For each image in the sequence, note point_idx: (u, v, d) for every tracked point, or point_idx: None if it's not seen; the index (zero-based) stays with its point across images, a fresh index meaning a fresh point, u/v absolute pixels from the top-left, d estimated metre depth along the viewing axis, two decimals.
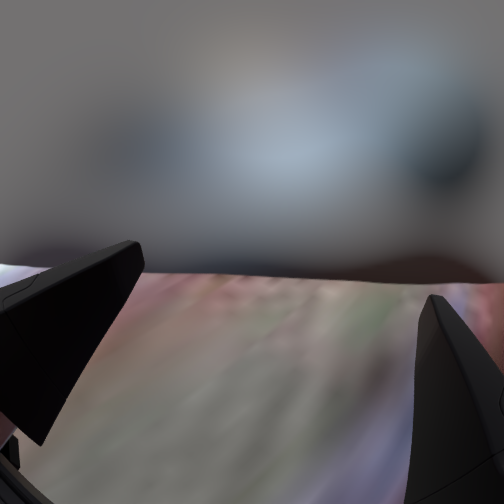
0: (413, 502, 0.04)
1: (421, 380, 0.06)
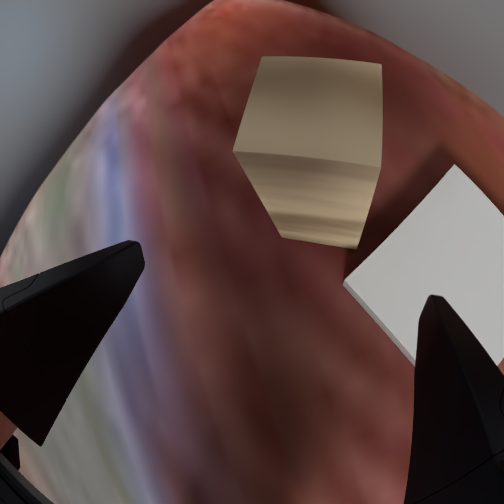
0: (413, 502, 0.04)
1: (421, 380, 0.06)
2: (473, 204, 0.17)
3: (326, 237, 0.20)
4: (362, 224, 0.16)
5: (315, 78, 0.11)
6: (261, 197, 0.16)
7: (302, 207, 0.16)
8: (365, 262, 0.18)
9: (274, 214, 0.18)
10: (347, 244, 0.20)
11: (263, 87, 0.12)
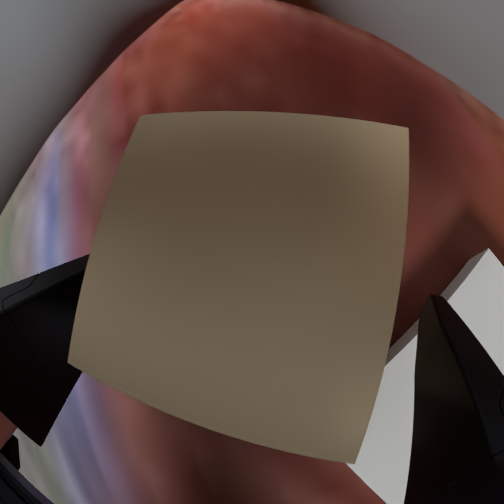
0: (413, 502, 0.04)
1: (421, 380, 0.06)
2: None
3: None
4: None
5: (234, 178, 0.05)
6: None
7: None
8: None
9: None
10: None
11: (124, 203, 0.06)
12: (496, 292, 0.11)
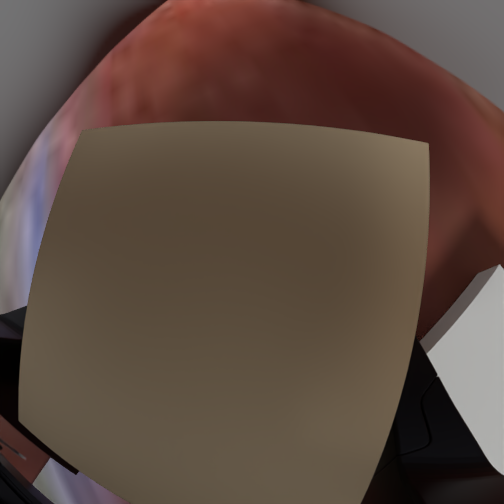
0: None
1: None
2: None
3: None
4: None
5: (179, 221, 0.04)
6: None
7: None
8: None
9: None
10: None
11: (58, 246, 0.04)
12: None
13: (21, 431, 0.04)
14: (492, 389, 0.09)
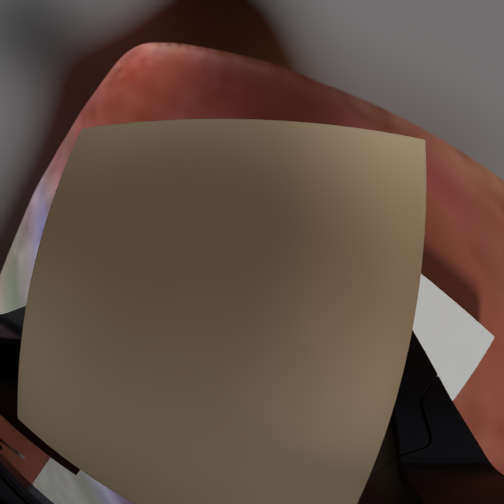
0: None
1: None
2: None
3: None
4: None
5: (177, 217, 0.04)
6: None
7: None
8: None
9: None
10: None
11: (56, 243, 0.04)
12: None
13: (21, 431, 0.04)
14: None
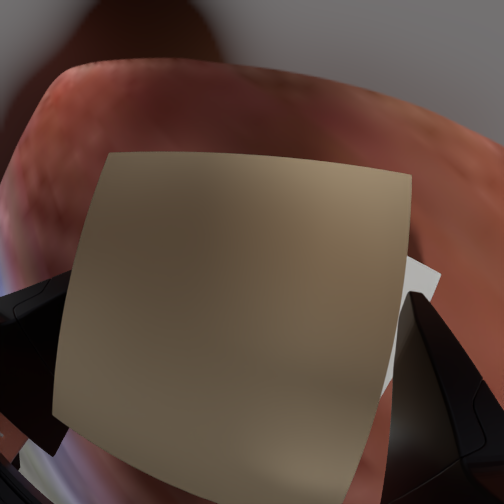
0: (388, 501, 0.04)
1: (398, 377, 0.06)
2: None
3: None
4: None
5: (206, 240, 0.05)
6: None
7: None
8: None
9: None
10: None
11: (93, 258, 0.05)
12: None
13: None
14: None
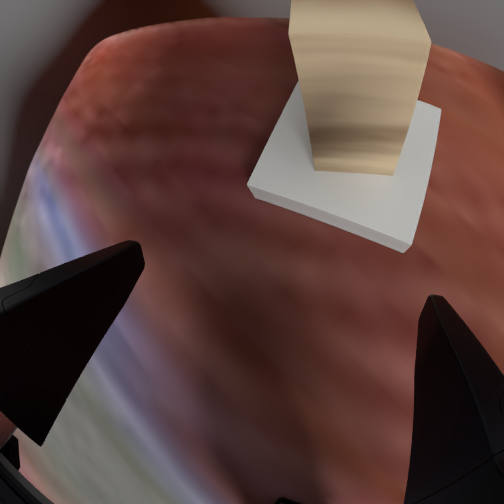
0: (413, 502, 0.04)
1: (421, 380, 0.06)
2: None
3: (364, 160, 0.18)
4: (406, 130, 0.14)
5: None
6: (305, 103, 0.14)
7: (348, 112, 0.14)
8: (258, 165, 0.22)
9: (314, 130, 0.16)
10: (384, 168, 0.18)
11: None
12: None
13: None
14: None
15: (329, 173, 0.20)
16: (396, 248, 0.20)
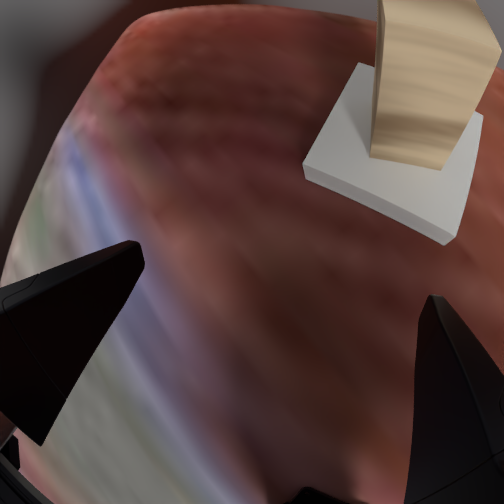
0: (413, 502, 0.04)
1: (421, 380, 0.06)
2: None
3: (419, 152, 0.18)
4: (463, 127, 0.13)
5: None
6: (382, 88, 0.13)
7: (417, 102, 0.13)
8: (314, 146, 0.21)
9: (382, 116, 0.15)
10: (435, 162, 0.18)
11: None
12: (373, 76, 0.22)
13: None
14: None
15: (383, 161, 0.20)
16: (439, 240, 0.20)
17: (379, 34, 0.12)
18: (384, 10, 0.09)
